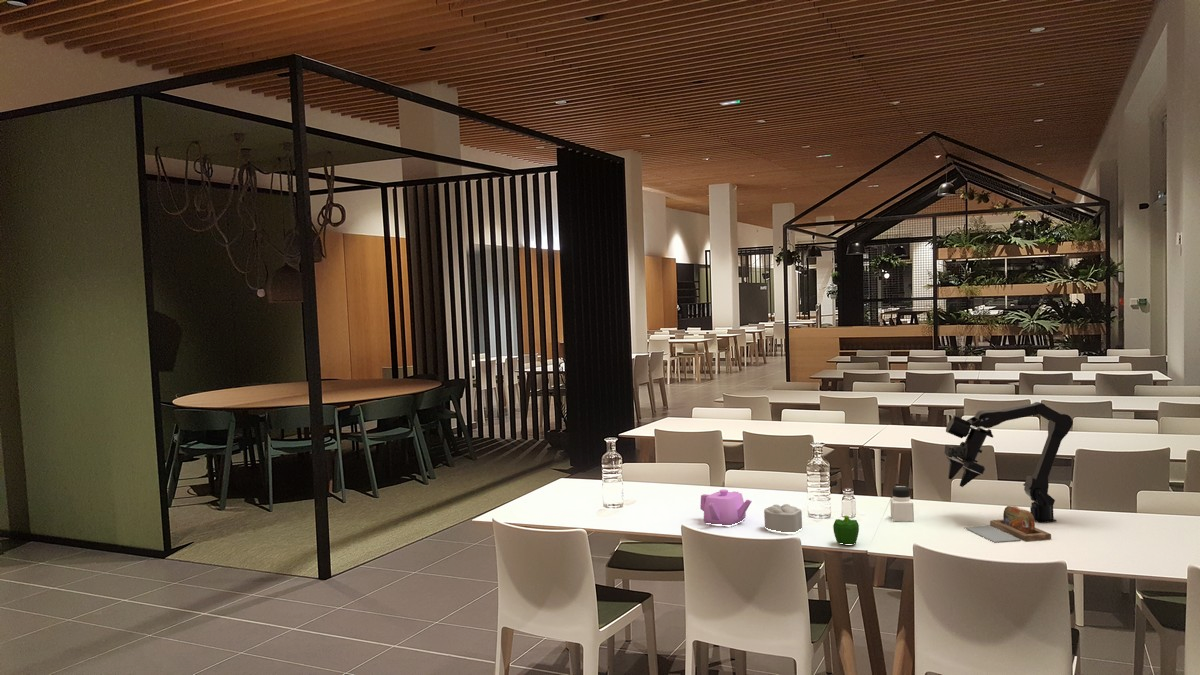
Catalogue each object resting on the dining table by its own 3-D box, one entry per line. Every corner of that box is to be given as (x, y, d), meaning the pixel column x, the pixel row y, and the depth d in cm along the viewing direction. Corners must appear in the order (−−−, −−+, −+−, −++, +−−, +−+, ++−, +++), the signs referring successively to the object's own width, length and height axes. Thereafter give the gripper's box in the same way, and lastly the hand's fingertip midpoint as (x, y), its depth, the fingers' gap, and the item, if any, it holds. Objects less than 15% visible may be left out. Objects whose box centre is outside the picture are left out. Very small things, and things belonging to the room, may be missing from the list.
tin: (1002, 527, 295) (1001, 503, 295) (1011, 526, 295) (1010, 502, 295) (1028, 538, 280) (1027, 513, 280) (1037, 538, 280) (1036, 512, 280)
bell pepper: (835, 539, 290) (834, 510, 290) (860, 541, 287) (859, 512, 287) (832, 546, 282) (831, 516, 282) (857, 548, 279) (856, 518, 279)
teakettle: (738, 515, 331) (737, 483, 331) (754, 525, 314) (752, 492, 314) (696, 519, 328) (695, 487, 328) (710, 530, 311) (709, 496, 311)
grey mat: (988, 526, 297) (988, 525, 297) (1020, 540, 278) (1020, 539, 278) (964, 528, 296) (964, 527, 296) (994, 542, 277) (994, 541, 277)
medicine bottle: (914, 521, 308) (912, 489, 308) (893, 521, 309) (892, 489, 309) (910, 516, 315) (909, 484, 315) (890, 516, 316) (889, 485, 316)
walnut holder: (1014, 523, 299) (1014, 518, 299) (1051, 539, 278) (1051, 534, 278) (990, 525, 298) (989, 520, 298) (1025, 541, 277) (1025, 536, 277)
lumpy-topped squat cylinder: (793, 535, 298) (792, 511, 298) (759, 531, 306) (758, 507, 306) (805, 528, 306) (804, 504, 306) (771, 524, 314) (770, 501, 314)
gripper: (942, 429, 313) (924, 467, 314) (965, 441, 294) (946, 482, 296) (969, 440, 314) (951, 478, 315) (993, 453, 295) (974, 493, 297)
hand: (955, 482), depth 306 cm, fingers open, 9 cm apart
